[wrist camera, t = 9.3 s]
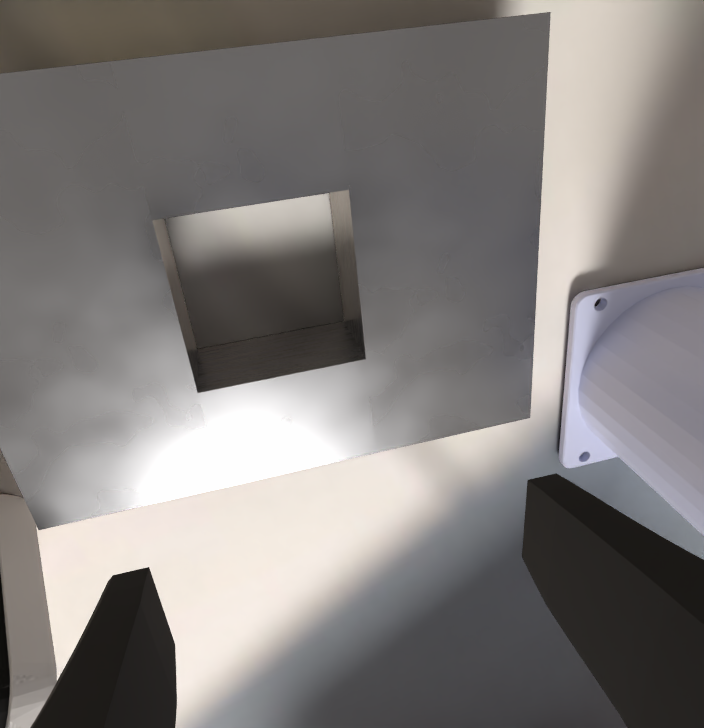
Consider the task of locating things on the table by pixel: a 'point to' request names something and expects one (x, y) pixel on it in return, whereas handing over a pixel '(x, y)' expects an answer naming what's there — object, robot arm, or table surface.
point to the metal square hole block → (254, 186)
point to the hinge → (22, 619)
